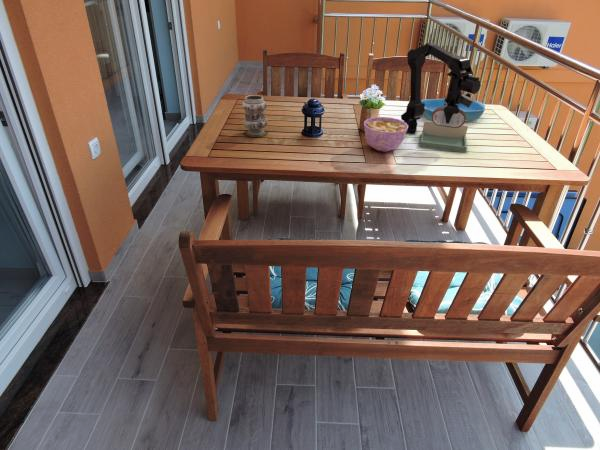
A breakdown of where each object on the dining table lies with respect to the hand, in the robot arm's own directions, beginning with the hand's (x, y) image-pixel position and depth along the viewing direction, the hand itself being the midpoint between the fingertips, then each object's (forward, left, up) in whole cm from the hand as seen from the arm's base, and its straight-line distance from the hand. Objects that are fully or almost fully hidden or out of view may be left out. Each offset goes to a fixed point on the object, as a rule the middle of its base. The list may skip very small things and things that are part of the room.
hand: (447, 122), depth 193 cm
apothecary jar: (-90, -14, -12) cm, 92 cm away
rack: (0, +3, -12) cm, 12 cm away
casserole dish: (+4, +44, -12) cm, 46 cm away
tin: (0, 0, -2) cm, 2 cm away
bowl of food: (-27, -12, -12) cm, 32 cm away
